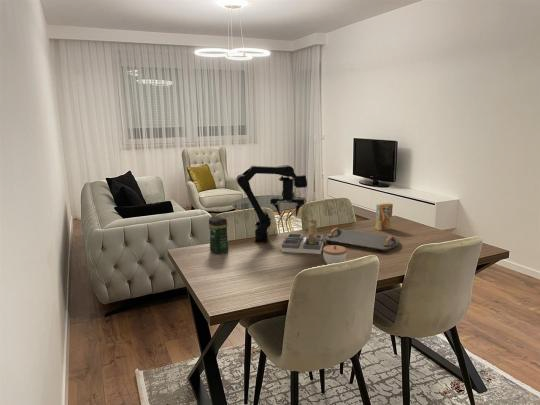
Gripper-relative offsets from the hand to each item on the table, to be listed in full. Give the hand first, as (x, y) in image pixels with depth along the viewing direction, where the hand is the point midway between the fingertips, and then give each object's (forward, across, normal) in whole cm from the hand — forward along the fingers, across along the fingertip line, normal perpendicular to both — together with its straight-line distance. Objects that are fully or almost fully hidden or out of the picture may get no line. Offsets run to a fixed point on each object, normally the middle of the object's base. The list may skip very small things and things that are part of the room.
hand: (288, 216), depth 231 cm
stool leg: (+11, -16, +18) cm, 26 cm away
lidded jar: (+13, -28, +36) cm, 48 cm away
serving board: (+14, -40, +1) cm, 42 cm away
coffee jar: (+13, +31, +28) cm, 44 cm away
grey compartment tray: (+13, -10, +12) cm, 21 cm away
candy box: (+13, -53, -28) cm, 61 cm away
